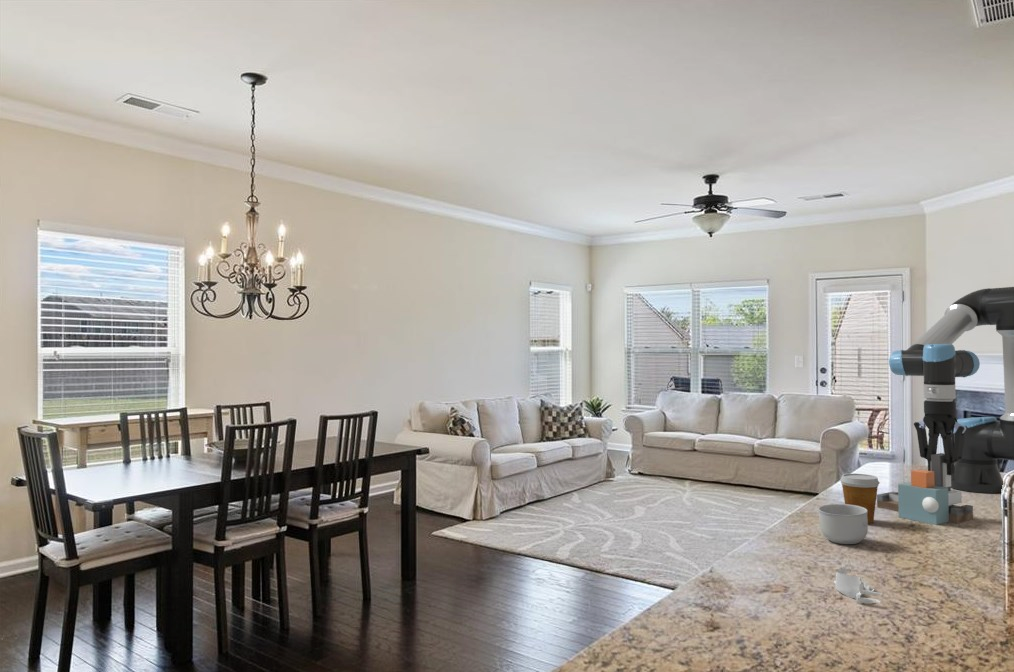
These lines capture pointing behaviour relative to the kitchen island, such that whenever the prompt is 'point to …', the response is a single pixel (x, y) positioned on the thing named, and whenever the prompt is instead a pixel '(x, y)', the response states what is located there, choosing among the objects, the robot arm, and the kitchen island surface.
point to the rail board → (896, 508)
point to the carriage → (937, 467)
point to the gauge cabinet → (923, 503)
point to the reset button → (922, 478)
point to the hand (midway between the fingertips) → (941, 485)
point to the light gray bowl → (843, 523)
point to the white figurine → (854, 587)
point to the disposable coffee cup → (861, 492)
